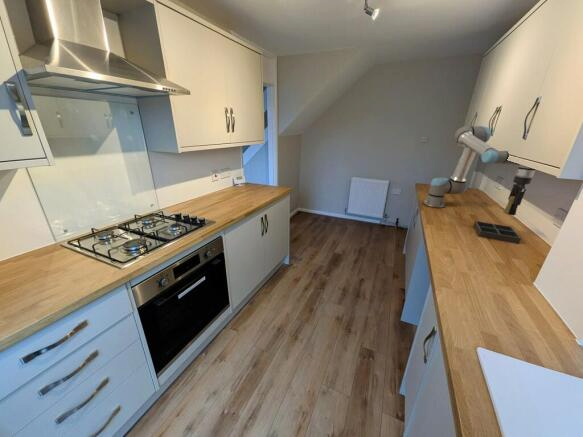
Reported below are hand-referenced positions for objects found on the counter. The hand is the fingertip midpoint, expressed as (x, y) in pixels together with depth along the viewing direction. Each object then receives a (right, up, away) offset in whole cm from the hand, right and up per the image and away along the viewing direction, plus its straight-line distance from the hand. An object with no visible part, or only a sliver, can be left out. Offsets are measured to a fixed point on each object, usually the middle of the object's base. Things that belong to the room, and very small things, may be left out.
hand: (509, 213), depth 148 cm
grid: (-7, -13, +3) cm, 15 cm away
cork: (0, 0, 0) cm, 0 cm away
